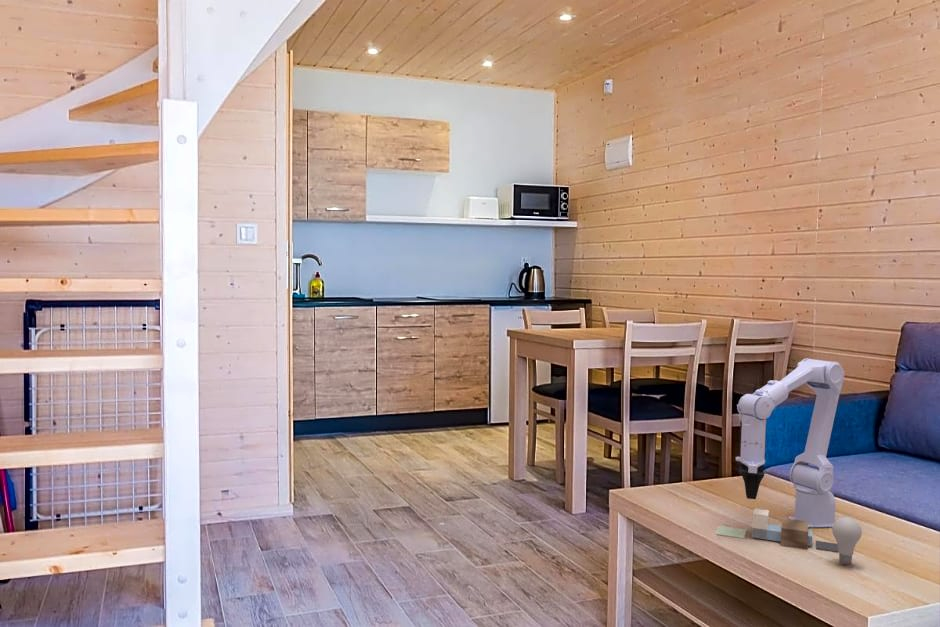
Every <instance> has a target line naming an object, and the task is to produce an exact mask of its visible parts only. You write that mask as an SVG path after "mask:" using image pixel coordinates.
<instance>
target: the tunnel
mask: <svg viewBox="0 0 940 627" xmlns="http://www.w3.org/2000/svg"><path fill="white" fill-rule="evenodd" d="M781 526H782V528H781V542H780V546H781V547H787V548H788V547H789V548H794V549H800V550H801V549H802V550H807V551H808V547H809V546H808V530H809V527H808V521H802V520H794V519H788V517H787V518H786V517H782V520H781Z"/></svg>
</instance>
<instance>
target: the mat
mask: <svg viewBox="0 0 940 627" xmlns="http://www.w3.org/2000/svg"><path fill="white" fill-rule="evenodd" d="M746 533H747V529H745V528H739V527H730V526H724V525H717V528H716V531H715V533H714V534H715V535H717V536H723V537H731V538H737V539H745V538H746Z"/></svg>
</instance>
